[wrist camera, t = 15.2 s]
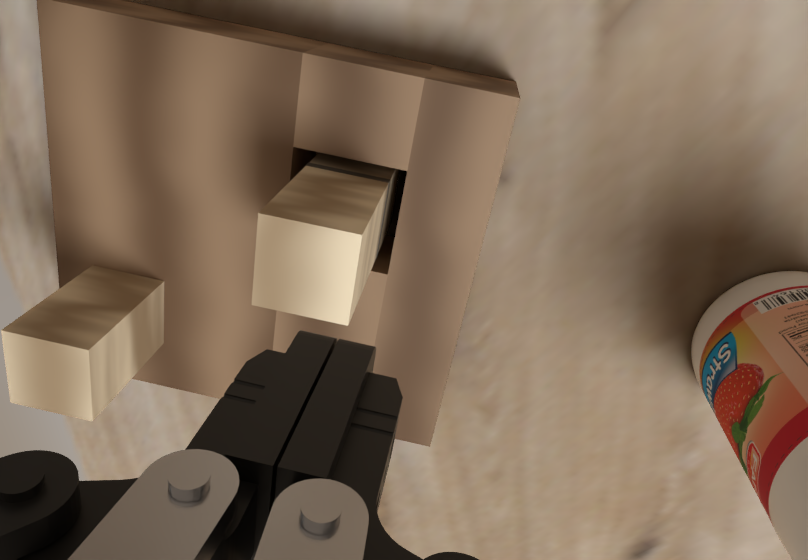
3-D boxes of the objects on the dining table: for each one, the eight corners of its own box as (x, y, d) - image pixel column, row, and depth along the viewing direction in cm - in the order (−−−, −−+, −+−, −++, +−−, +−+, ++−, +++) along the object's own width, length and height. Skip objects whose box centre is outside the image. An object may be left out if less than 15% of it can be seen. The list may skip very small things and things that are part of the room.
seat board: (515, 81, 31) (529, 132, 21) (436, 395, 40) (417, 544, 30) (99, -5, 32) (-96, 1, 21) (111, 321, 41) (-23, 441, 30)
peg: (403, 154, 34) (362, 234, 23) (391, 222, 36) (348, 326, 25) (330, 140, 34) (257, 212, 23) (322, 208, 36) (251, 305, 25)
